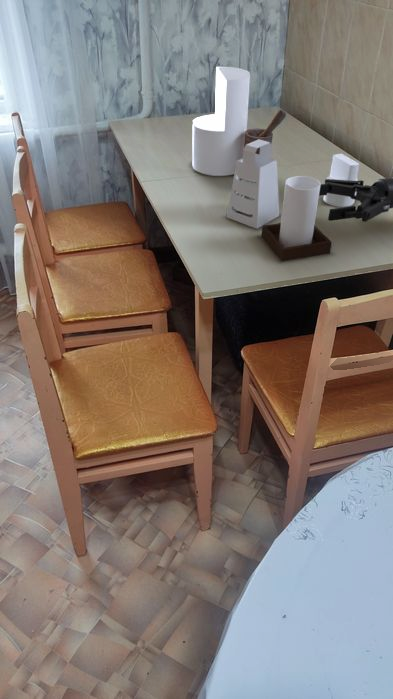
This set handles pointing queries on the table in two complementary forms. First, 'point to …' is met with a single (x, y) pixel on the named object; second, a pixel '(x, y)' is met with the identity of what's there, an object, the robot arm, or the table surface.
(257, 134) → the mortar and pestle
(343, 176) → the base with upright slab
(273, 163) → the grater
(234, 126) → the cylinder
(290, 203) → the cup
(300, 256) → the tray
